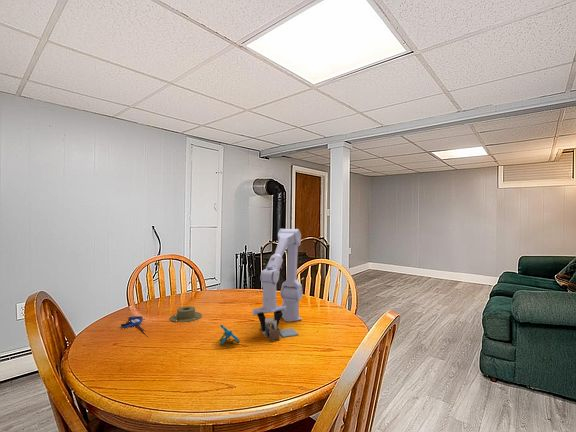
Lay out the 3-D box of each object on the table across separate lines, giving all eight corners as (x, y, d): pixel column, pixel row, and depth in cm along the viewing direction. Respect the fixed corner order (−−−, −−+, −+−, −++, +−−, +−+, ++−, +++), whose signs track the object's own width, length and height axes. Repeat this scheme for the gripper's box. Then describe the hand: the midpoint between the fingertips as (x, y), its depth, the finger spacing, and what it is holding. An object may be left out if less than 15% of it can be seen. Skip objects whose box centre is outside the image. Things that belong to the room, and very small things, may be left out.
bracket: (262, 333, 129) (262, 318, 129) (273, 331, 131) (273, 317, 131) (265, 336, 125) (265, 321, 125) (276, 335, 127) (276, 320, 127)
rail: (260, 329, 134) (260, 320, 134) (269, 327, 135) (269, 318, 135) (270, 341, 120) (270, 331, 120) (279, 340, 122) (279, 330, 122)
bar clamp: (116, 319, 140) (139, 314, 147) (116, 324, 140) (139, 319, 147) (139, 343, 116) (165, 336, 123) (139, 349, 116) (165, 342, 123)
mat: (277, 331, 131) (277, 330, 131) (292, 329, 133) (292, 328, 133) (282, 337, 124) (282, 336, 124) (298, 335, 127) (298, 333, 127)
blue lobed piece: (244, 341, 116) (225, 325, 114) (233, 355, 114) (214, 338, 112) (237, 335, 126) (219, 320, 124) (227, 347, 124) (209, 332, 122)
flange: (162, 311, 145) (188, 315, 139) (184, 303, 159) (208, 306, 153) (162, 321, 145) (188, 325, 139) (184, 312, 159) (208, 315, 153)
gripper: (255, 301, 121) (255, 335, 121) (289, 298, 127) (289, 330, 127) (251, 297, 128) (251, 329, 128) (283, 294, 133) (283, 325, 133)
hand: (269, 329), depth 128 cm, fingers closed on bracket, 5 cm apart
